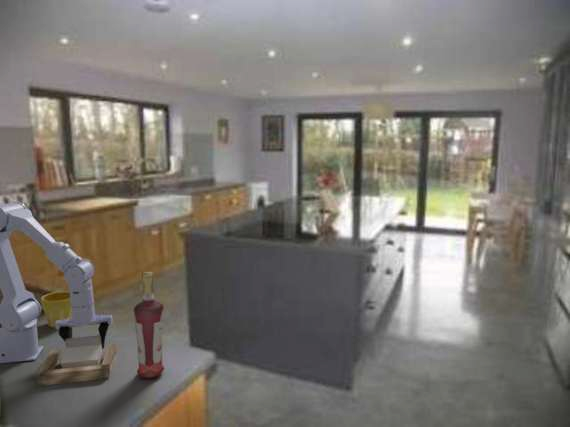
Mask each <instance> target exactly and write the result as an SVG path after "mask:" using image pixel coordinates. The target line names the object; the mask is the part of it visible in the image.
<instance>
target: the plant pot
mask: <svg viewBox="0 0 570 427" xmlns="http://www.w3.org/2000/svg"><path fill="white" fill-rule="evenodd" d="M40 306H41V310H43V311H44V314H45V318H46V321H47V324H48V327H50V328H54V329H56V327H55V323H56V321H57V320H63V319H68V318H73V316H72V306H71V296H70V291H55V292H51V293H47V294H45V295H43V296H41V297H40Z"/></svg>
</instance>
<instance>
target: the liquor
mask: <svg viewBox="0 0 570 427" xmlns="http://www.w3.org/2000/svg"><path fill="white" fill-rule="evenodd" d="M141 278H142V279H141V280H142V283H143V290H142V301H141V302H139V303H137V304H136V305H135V306H134V307H133V312H134V314H133V315H134V327H135V335H136V344H137V357H138V358H137V360H138V368H137V371H136V372H137V375H139V376H140V377H142V378H143V379H146V380H147V379H155V378H157V377H158V376H159V375H161V374H162V373H163V371H164V370H165V366H164V365H163V335H164V332H163V331H164V328H163V327H164V304H163V303H161V302H159V300H158V301H157V300H155V294H154V287H153V282H154V272H153V271H144V272H142V273H141Z"/></svg>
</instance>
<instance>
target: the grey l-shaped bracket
mask: <svg viewBox="0 0 570 427" xmlns="http://www.w3.org/2000/svg"><path fill="white" fill-rule="evenodd" d="M64 344H65V351H64V354H63V357H62V359H61V362H60V365H61V369H64V368H74V367H85V366H95V365H101V360H102V355H103V351H104V349H102V342H101V335H99V334H98V335H88V336H78V337H72V338H69V339H65V342H64Z"/></svg>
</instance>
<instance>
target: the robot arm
mask: <svg viewBox="0 0 570 427" xmlns="http://www.w3.org/2000/svg"><path fill="white" fill-rule="evenodd" d="M13 232H22V233H24V234H25V235H26V236H27V237H29V239H31V240H32V241H33V242H34V243H36V244H38V246H39V247H41V248H42V249H43V250H44V251H45V258H47V259H48V260H49V261H50V262H51V263H52V264H53V265H54V266H55V267H56V268H57V269H59V270H60V272H62V273H63V274H64V275H63V280H64V281H65V282H66V284H67V285H68V290H69V292H70V296H71V306H72V317H71V318H68V319H63V320H57V321H56V323H55V327H56V328H55V330H57V331H58V336H59V337H61V339H62V340H63V341H64V343H65V339H69V338H73V328H75V327H78V328H80V327H81V328H83V327H86V326H95V325H99V326H98V328H97V329H98V333H99V334H98V335H101V342H102V349H103V350H104V348H105V342H106V338H107V337H106V336H107V333H108V330H109V326H110V325H112V324H113V321H114V320H113V315H112V314H96V310H95V300H94V298H95V297H94V290H93V289H94V288H93V279H92V277H94V275H95V272H96V268H95V266H94V264H93V262H92V261H91V260H89V259H86V258H83V257H81V256H79V255H78V254H77V253H76V252H74V251H73V249H71V248H70V247H71V245H69V243H65V242H63V241H56V240H55V239H54V238H53V237H52V235H50V234H49V233H48V231H47V230H45V228H44V227H43V226H42V225H41V223H39V221H37V220H36V218H35V217H34V216H33V214H32V211H31V209H29V208H28V207H27V206H26V205H25V204H24V203H22V202H20V201H11V202H9V203H8V202H7V203H4V204H0V290H1V294H2V297H3V298H2V300H1V302H0V324H1V327H0V364H5V363H8V364H9V363H16V362H19V363H20V362H28V361H35V360H37V358H38V357H39V355H40V354H41V353H42V351H43V349H44V346H43V345H41V346H39V338H38V326H37V325H38V324H37V322H38V317H40V316H41V313H42V307H41V303H40V302H39V301H38V300H37V299H36V296H35V294H34V293H33V292H31V291H29V290H27V288H26V287H25V283H24V281H23V278H22V274H21V271H20V269H19V266H18V263H17V260H16V257H15V254H14V251H13V248H12V246H11V241H10V239H9V237H10V236H11V234H13Z"/></svg>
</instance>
